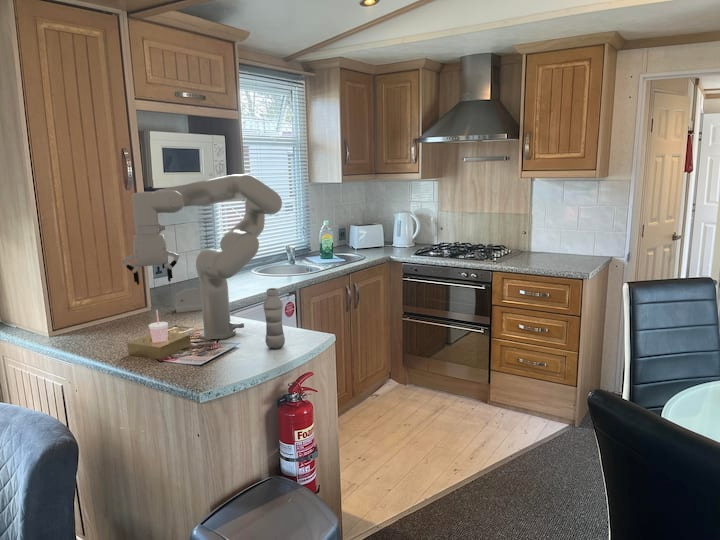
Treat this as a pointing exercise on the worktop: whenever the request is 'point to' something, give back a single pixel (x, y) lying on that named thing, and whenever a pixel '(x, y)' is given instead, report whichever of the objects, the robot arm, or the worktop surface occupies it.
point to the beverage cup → (159, 330)
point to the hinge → (188, 300)
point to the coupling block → (158, 346)
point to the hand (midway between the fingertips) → (154, 282)
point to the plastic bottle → (273, 319)
